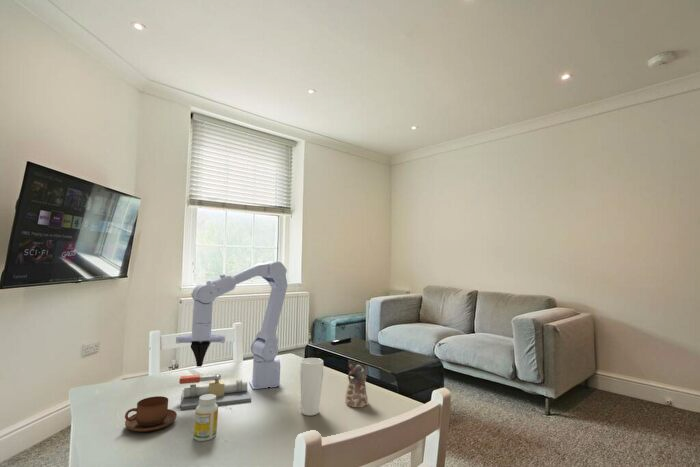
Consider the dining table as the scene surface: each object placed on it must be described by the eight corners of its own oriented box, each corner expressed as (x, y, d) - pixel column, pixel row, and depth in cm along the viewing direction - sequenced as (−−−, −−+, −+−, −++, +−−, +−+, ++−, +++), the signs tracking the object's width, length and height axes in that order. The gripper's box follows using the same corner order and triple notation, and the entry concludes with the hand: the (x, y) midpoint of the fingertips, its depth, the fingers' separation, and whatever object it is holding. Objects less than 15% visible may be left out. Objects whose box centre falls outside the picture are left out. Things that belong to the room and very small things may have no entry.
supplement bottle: (200, 444, 86) (202, 402, 87) (189, 436, 89) (192, 396, 90) (220, 436, 90) (223, 396, 91) (209, 429, 93) (212, 391, 94)
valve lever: (220, 378, 117) (220, 373, 117) (220, 380, 115) (221, 375, 115) (179, 381, 113) (180, 376, 113) (179, 384, 110) (179, 378, 110)
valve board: (245, 386, 125) (245, 370, 126) (251, 401, 113) (252, 383, 113) (182, 393, 117) (183, 376, 118) (180, 409, 105) (182, 390, 105)
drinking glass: (303, 419, 101) (305, 364, 102) (295, 410, 107) (297, 358, 108) (325, 415, 104) (327, 362, 106) (316, 406, 110) (318, 356, 112)
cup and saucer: (140, 441, 87) (142, 414, 87) (115, 427, 93) (117, 403, 94) (185, 423, 97) (187, 399, 97) (160, 412, 103) (162, 390, 104)
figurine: (365, 409, 110) (366, 368, 111) (343, 406, 111) (344, 366, 112) (369, 400, 117) (370, 362, 118) (347, 398, 118) (348, 360, 119)
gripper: (227, 320, 120) (225, 361, 119) (181, 320, 118) (178, 362, 116) (224, 323, 113) (221, 367, 112) (175, 324, 111) (172, 369, 110)
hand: (199, 365), depth 114 cm, fingers closed
